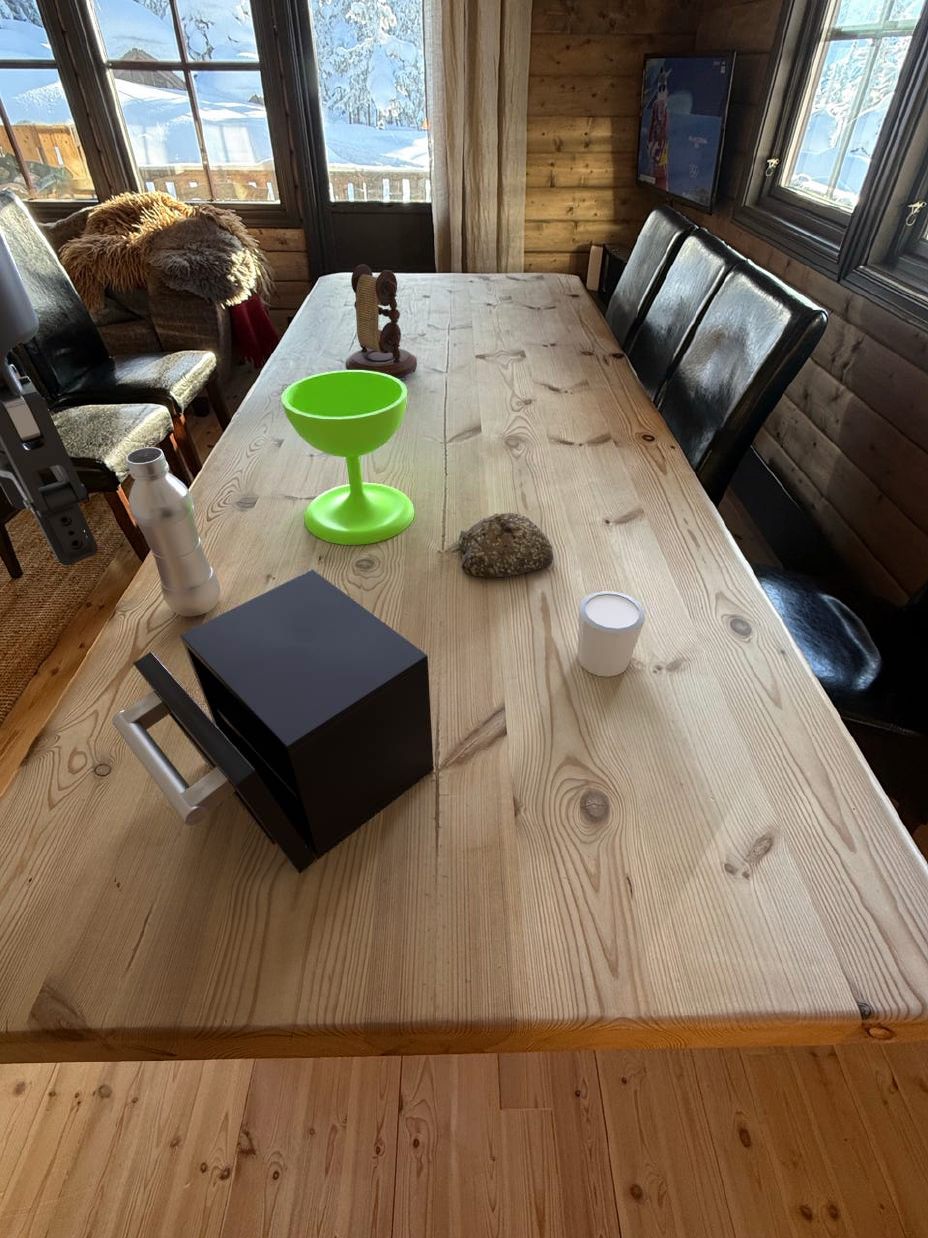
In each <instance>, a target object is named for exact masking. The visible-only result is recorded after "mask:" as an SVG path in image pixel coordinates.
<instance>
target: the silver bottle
mask: <svg viewBox="0 0 928 1238" xmlns="http://www.w3.org/2000/svg"><path fill="white" fill-rule="evenodd" d="M125 459H126V464H127V466H128V468H129V474H130V477H131V478H132V479H134V481H133V483H132V486H131V488H130V492H129V495H128V509H129V512H130V513H131V515H132V517H133V519H134V521H135V522H136V525H137V526H138V528H139V529H140V531H141V533H142V535H143V536H144V538H145V540H146V543H147V544H148V547H149V549H150V550H151V554H152V556H153V559H154V561H155V564H156V568H157V572H158V575H159V579H160V588H161V593H162V599H163V600H164V601H165V603H166V604H167V606H168V608H170V610H171V611H172V612H174V613H176V614H177V615H180V616H182V617H198V616H201V615H204V614H206V613H208V612H210V611H211V610H212V609H214V608H215V607H216V605H217V604H218V602H219V600H220V597H221V585H220V580H219V578H218V576H217V574H216V572H215V571H214V569H213V567H212V566H211V565H210V562H209V560H208V558H207V555H206V552H205V551H204V547H203V545H202V543H201V539H200V534H199V531H198V527H197V520H196V515H195V507H194V501H193V497H192V493H191V491H190V490H189V488H188V487H187V486H186V485H185V483H183V482H182V481H181V480H180V479H179V478H177V477H176V476H175V475H173V474H172V473H170V472H169V471H170V465H169V464H168V461H167V460H166V456H165V453H164V452H163V450H162V449H161V448H158V447H154V446H150V447H149V446H147V447H142V448H138V449H135V450H133V451H131V452H129V453H128V454H127V455H126V458H125Z"/></svg>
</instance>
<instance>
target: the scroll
mask: <svg viewBox="0 0 928 1238" xmlns="http://www.w3.org/2000/svg"><path fill="white" fill-rule="evenodd" d="M350 280H351V281H350V282H351V284H350V285H351V288H352V292H353V293H354V294H355V295H354V296H355V301H354V304H353V305H354V309H355V319H356V322H355V323H356V335H357V341H358V344H359V346H360V348H361V349H360V350H358V351H356V352H354V353H352V354H351V355H349V356H348V357H347V358H346V359H345V361H344V365H345V370H366V371H374V372H380V373H384V374H388V375H391V376H393V377H395V378H397V379H398V378H401V377H403V376H407V375H409V374H411V373H416V370H417V367H418V360H417V357H416V356H415V354H413V353H411V352H409V351H407V350H405V349H403V348H400V347H401V344H400V342H401V339H402V332H401V328H400V326H399V324H398V323H399V319H400V318H401V313H400V310H399V309H398V302H397V299H396V297H397V296H398V294H397V292H398V280H397V277H396V275H395V273H394V272H393V271H392V270H389V269H385V270H383V271H381V272H380V273H379V274H378V276H375V275H374V274H373V272H372V270H371V268H370V267H369V265H366V264H359V265H357V266H356V267H355V268H354V269H353V272H352V274H351V279H350ZM383 307H389V308H390V309H389V308H383ZM379 316H384V317H385V318H388V319H389V320H390V321H389V322H387V323H386V324H384V326H383V327H382V329H380V328H379V321H380V318H379Z"/></svg>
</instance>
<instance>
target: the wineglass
mask: <svg viewBox="0 0 928 1238" xmlns="http://www.w3.org/2000/svg"><path fill="white" fill-rule="evenodd" d="M407 402H408V389H407V385H406V383H404V382H403V380H402V381H401V379H399V378H398V377H397V378H395V377H393V376H391V375H388V374H384V373H380V372H374V371H366V370H346V369H342V370H332V371H326V372H321V373H316V374H313V375H308V376H307V377H303V378H301V379H299V380H296V381H294V382H293V383H291V384H290V385H288V386H287V387H286V388H285V389H284V390H283V392H282V394H281V404H282V407H283V410H284V413H285V416H286V418H287V420H288V421H289V422H290V424H291V426H292V427H293V429H294V430H295V432H296V433H297V434H298V436H299V437H300V438H301V439H303V440H304V441H305V442H306V443H307V444H309V446H310V447H313V448H315V449H316V450H317V451H320V452H323V453H326V454H328V455H331V456H334V457H339V458H345V461H346V468H347V478H348V483H347V484H343V485H339V486H336V487H333V488H331V489H328V490H326V491H324V492H322V493H321V494H319V495H318V496H316V497H315V498H314V499H313V500H312V501H311V502H310V503H309V504H308V505H307V507H306V511H305V513H304V517H303V518H304V525H305V528H307V530H308V532H310V533H311V534H312V535H313V536H315V537H316V538H318V539H320V540H323V541H325V542H328V543H331V544H332V543H333V544H338V545H344V546H346V545H347V546H359V545H360V546H362V545H369V544H376V543H378V542H382V541H386V540H388V539H390V538H393V537H394V536H397V535H400V533H402V532H403V531H404V530H405V529H407V528H409V526H410V525H411V523H412V522H413V520H414V517H415V513H416V512H415V508H414V504H413V501H411V500H410V498H409V497H408V495H406V493H404V492H402V491H400V490H399V489H397V488H395V487H392V486H389V485H386V484H381V483H375V482H363V481H364V480H363V472H362V463H361V456H366V455H368V454H371V453H373V452H374V451H376V450H378V449H379V448H380V447H382V446H383V445H386V443H388V442H389V441H390V440H391V439H392V437H393V436H394V434H395V433H396V432H397V431H398V429H399V428H400V426H401V424H402V421H403V418H404V415H405V412H406V409H407V405H408V404H407Z"/></svg>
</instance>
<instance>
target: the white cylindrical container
mask: <svg viewBox="0 0 928 1238" xmlns="http://www.w3.org/2000/svg"><path fill="white" fill-rule="evenodd" d="M578 609H579V611H578V636H577V639H578V640H577V660H578V663H579V664H580V666H581V667H582V668H583V669H584V670H585V671H587V672H588V673H589V674H593V675H595V676H597V677H598V676H599V677H606V678H609V677H610V678H611V677H614V676H619V675H620V674H622V673H624V672H625V671H626V669H627V668H628V666H629V665H630V662H631V659H632V656H633V653H634V651H635V648H636V645H637V643H638V640H639V638H640V635H641V632H642V629H643V626H644V624H645V621H646V610H645V609H644V608H643V606H642V605H641V603H640V602H639V601H637V600H636V599H635V598H634V597H632V596H631V595H627V594H624V593H622V592H619V591H611V590H601V591H596V592H593V593H591V594H588V595H586V596H584V598H583V599H582V600H581V601H580V603H579V607H578Z"/></svg>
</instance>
